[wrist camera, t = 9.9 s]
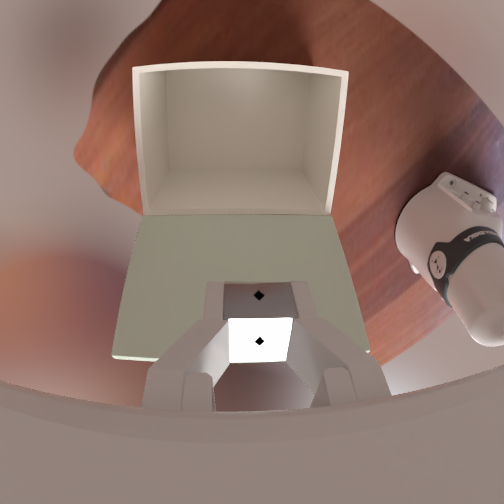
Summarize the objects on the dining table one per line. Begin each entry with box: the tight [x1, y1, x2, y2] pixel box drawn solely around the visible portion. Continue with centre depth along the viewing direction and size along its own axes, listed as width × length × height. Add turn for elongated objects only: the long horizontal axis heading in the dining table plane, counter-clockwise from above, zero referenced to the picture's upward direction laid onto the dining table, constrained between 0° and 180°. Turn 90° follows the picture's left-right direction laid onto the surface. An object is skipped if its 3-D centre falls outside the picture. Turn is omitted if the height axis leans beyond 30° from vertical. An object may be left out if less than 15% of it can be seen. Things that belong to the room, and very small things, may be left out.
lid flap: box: [112, 214, 370, 363], centre depth 25 cm, size 18×14×1 cm
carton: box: [132, 61, 349, 215], centre depth 30 cm, size 18×14×12 cm
